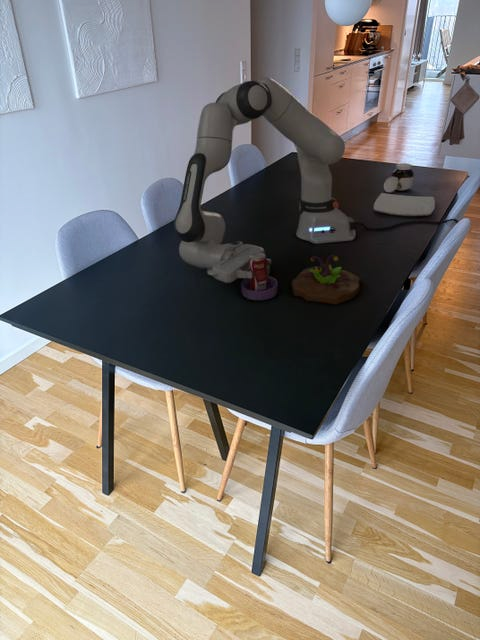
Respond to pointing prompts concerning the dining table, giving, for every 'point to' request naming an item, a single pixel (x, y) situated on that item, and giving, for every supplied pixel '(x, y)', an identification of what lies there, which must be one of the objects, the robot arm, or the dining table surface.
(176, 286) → the dining table surface
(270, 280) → the lavender bowl
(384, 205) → the plate
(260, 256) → the soda can
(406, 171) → the spread jar
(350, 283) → the plant
